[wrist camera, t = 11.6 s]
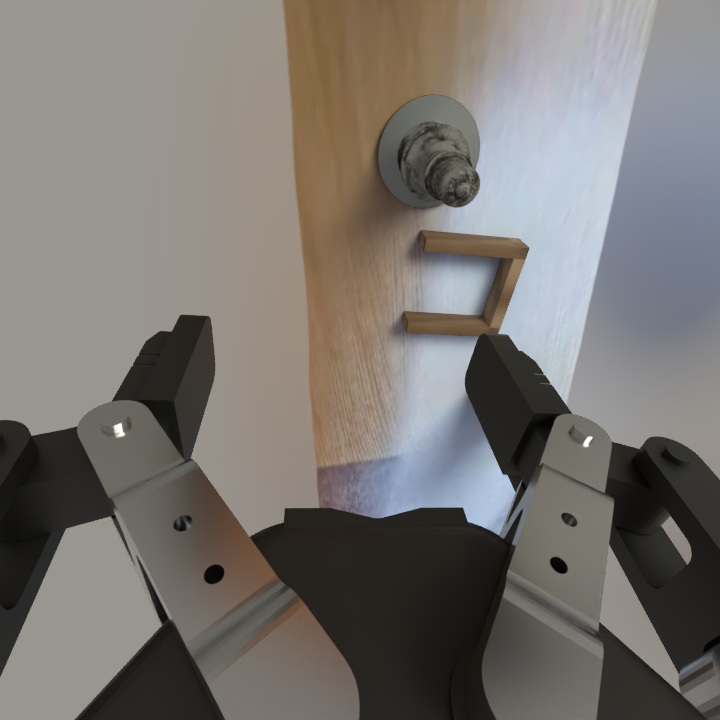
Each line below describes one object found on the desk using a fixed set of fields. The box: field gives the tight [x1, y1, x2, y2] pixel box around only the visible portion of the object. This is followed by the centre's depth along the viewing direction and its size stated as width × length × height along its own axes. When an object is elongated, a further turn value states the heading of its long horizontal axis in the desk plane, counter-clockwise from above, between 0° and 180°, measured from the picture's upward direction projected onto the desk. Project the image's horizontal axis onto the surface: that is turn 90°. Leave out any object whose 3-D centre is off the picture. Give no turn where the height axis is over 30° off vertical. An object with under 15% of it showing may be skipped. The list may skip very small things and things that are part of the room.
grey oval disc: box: [378, 95, 480, 208], centre depth 37 cm, size 9×9×1 cm
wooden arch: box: [403, 230, 529, 336], centre depth 44 cm, size 10×10×2 cm
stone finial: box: [397, 121, 480, 207], centre depth 32 cm, size 6×6×12 cm
